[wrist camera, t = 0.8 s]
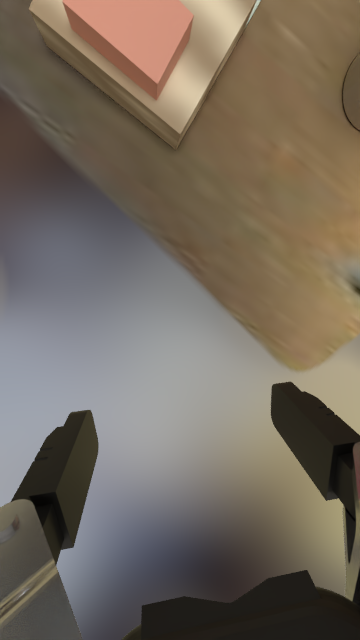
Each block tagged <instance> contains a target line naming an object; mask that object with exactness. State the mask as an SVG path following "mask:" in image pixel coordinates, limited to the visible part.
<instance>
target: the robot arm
mask: <svg viewBox="0 0 360 640" xmlns="http://www.w3.org/2000/svg"><path fill="white" fill-rule="evenodd" d="M343 104H344V108H345V112H346V114H347V117H348V119H349V120H350V122H351V123H352V125H353V126H355V127H356V128H357V129H358V130H360V53H359V54H358V55H357V56H356V58H355V59H354V61H353V62H352V64H351V66H350V68H349V70H348V72H347V75H346V78H345V82H344V88H343ZM271 418H272V421H273V424H274V426H275V428H276V429H277V431H278V432H279V434H280V435H281V437H282V438H283V439H284V441H285V442H286V444H287V445H288V447H289V448H290V449H291V451H292V452H293V454H294V455H295V457H296V458H297V459H298V461H299V462H300V464H301V465H302V467H303V468H304V470H305V471H306V472H307V474H308V475H309V477H310V478H311V479H312V481H313V482H314V484H315V485H316V487H317V488H318V489H319V491H320V492H321V494H322V495H323V497H324V498H325V500H326V501H327V500H332V499H337V498H339V499H340V501H341V502H342V503H343V505H344V506H343V527H344V543H345V544H344V545H345V566H346V583H345V597H344V596H342V595H340V594H337V593H335V592H333V591H330V590H327V589H324V588H320V587H315V585H314V583H313V581H312V579H311V577H310V575H309V573H308V571H307V570H304V571H300V572H296V573H291V574H286V575H281V576H277V577H272V578H268V579H267V580H265V581H264V582H262V583H261V584H259V585H258V586H256V587H255V588H253V589H252V590H250V591H249V592H247V593H246V594H244V595H243V596H241V597H240V598H238V599H237V600H236V601H234V602H232V603H223V602H217V601H210V600H204V599H198V598H191V597H185V596H184V597H180V598H175V599H170V600H166V601H161V602H157V603H152V604H148V605H143V606H142V621H141V624H140V625H139V626H137V627H136V628H135V629H133V630H132V631H131V632H129V633H128V634H127V635H126V636H125V637H124V638H123V639H122V640H360V435H359V434H357V433H356V432H355V431H354V430H353V429H352V428H351V427H350V426H348V425H347V424H346V423H345V422H344V421H343V420H342V419H341V418H339V417H338V416H337V415H335V414H334V412H333V411H332V410H330V409H329V408H327V406H326V405H325V404H324V403H323V402H322V401H320V400H319V399H318V398H317V397H315V396H313V395H311V394H309V393H307V392H301V391H300V390H299V389H298V388H297V387H296V386H295V385H294V384H293V383H292V382H286V383H278V384H273V386H272V395H271ZM97 455H98V438H97V433H96V429H95V425H94V420H93V416H92V412H91V411H90V410H84V411H78V412H71V413H70V414H69V416H68V418H67V420H66V422H65V424H64V426H62V427H57V428H56V429H55V430H54V431H53V432H52V433H51V434H50V435H49V436H48V437H47V438H46V440H45V441H44V443H43V445H42V447H41V448H40V451H39V452H38V454H37V456H36V457H35V461H34V462H33V463H32V465H31V466H30V468H29V470H28V472H27V474H26V476H25V477H24V479H23V481H22V483H21V484H20V487H19V488H18V490H17V492H16V493H15V495H14V497H13V499H12V501H11V502H10V503H8V504H6V505H4V506H2V507H0V640H83V639H82V636H81V633H80V630H79V627H78V625H77V622H76V619H75V616H74V614H73V611H72V608H71V605H70V603H69V600H68V597H67V595H66V592H65V589H64V586H63V583H62V581H61V578H60V575H59V572H58V570H57V567H56V564H57V561H58V557H59V554H60V551H61V550H63V549H67V548H73V547H74V543H75V539H76V535H77V531H78V528H79V524H80V520H81V516H82V513H83V509H84V505H85V501H86V497H87V493H88V489H89V486H90V482H91V478H92V474H93V470H94V467H95V463H96V459H97Z"/></svg>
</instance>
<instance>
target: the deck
mask: <svg viewBox="0 0 360 640" xmlns="http://www.w3.org/2000/svg"><path fill="white" fill-rule="evenodd" d="M62 1H63V0H32V2H31V5H30V7H29V10H30V12H31V14H32V17H33V19H34V21H35V23H36V25H37V27H38V29H39V31H40V33H41V35H42V37H43V39H44V41H45V43H46V45H47V47H48V48H50V49H51V50H52V51H53V52H55V53H56V54H57V55H58V56H60V57H61V58H62V59H63V60H65V61H66V62H67V63H68V64H70V65H71V66H72V67H73V68H75V69H76V70H77V71H78V72H80V73H81V74H82V75H83V76H85V77H86V78H87V79H88V80H90V81H91V82H92V83H93V84H95V85H96V86H97V87H98V88H99V89H101V90H102V91H103V92H104V93H106V94H107V95H108V96H109V97H111V98H112V99H113V100H114V101H116V102H117V103H118V104H119V105H121V106H122V107H123V108H124V109H126V110H127V111H128V112H129V113H131V114H132V115H133V116H134V117H136V118H137V119H138V120H139V121H141V122H142V123H143V124H144V125H146V126H147V127H148V128H149V129H151V130H152V131H153V132H154V133H155V134H157V135H158V136H159V137H160V138H162V139H163V140H164V141H165V142H167V143H168V144H169V145H170V146H172V147H173V148H174V149H175V150H176V149H177V148H178V146H179V144H180V142H181V141H182V139H183V137H184V135H185V134H186V132H187V130H188V128H189V127H190V125H191V123H192V121H193V119H194V118H195V116H196V114H197V112H198V111H199V109H200V107H201V105H202V104H203V102H204V100H205V98H206V97H207V95H208V93H209V91H210V90H211V88H212V86H213V84H214V82H215V81H216V79H217V77H218V75H219V74H220V72H221V70H222V68H223V67H224V65H225V63H226V61H227V60H228V58H229V56H230V54H231V52H232V51H233V49H234V47H235V45H236V44H237V42H238V40H239V38H240V37H241V35H242V33H243V31H244V29H245V27H246V24H247V22H248V20H249V17H250V15H251V13H252V10H253V8H254V6H255V3H256V1H257V0H179V1H180V2H181V3H182V4H183V5H184V6H185V7H186V8H187V9H188V10H189V11H190V12H191V13H192V14H193V15H194V18H193V23H192V28H191V33H190V39H189V41H188V43H187V45H186V47H185V49H184V51H183V53H182V54H181V56H180V58H179V60H178V62H177V64H176V66H175V68H174V69H173V71H172V73H171V75H170V77H169V79H168V81H167V83H166V84H165V86H164V88H163V90H162V92H161V94H160V96H159V98H158V99H157V101H156V100H155V99H154V98H153V97H151V96H150V95H149V94H148V93H147V92H146V91H144V90H143V89H142V88H141V87H140V86H138V85H137V84H136V83H135V82H134V81H133V80H131V79H130V78H129V77H128V76H127V75H125V74H124V73H123V72H122V71H121V70H120V69H118V68H117V67H116V66H115V65H114V64H112V63H111V62H110V61H109V60H108V59H106V58H105V57H104V56H103V55H102V54H101V53H99V52H98V51H97V50H96V49H95V48H93V47H92V46H91V45H90V44H89V43H88V42H86V41H85V40H84V39H83V38H82V37H80V36H79V35H78V34H77V33H76V32H75V31H73V30H72V28H71V25H70V23H69V20H68V17H67V14H66V11H65V8H64V5H63V2H62Z"/></svg>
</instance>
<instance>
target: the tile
mask: <svg viewBox="0 0 360 640" xmlns="http://www.w3.org/2000/svg"><path fill="white" fill-rule="evenodd" d="M62 2H63V5H64V8H65V11H66V14H67V17H68V20H69V23H70V25H71V28H72V30H73V31H75V32H76V33H77V34H78V35H79V36H80V37H82V38H83V39H84V40H85V41H86V42H88V43H89V44H90V45H91V46H92V47H93V48H95V49H96V50H97V51H98V52H99V53H101V54H102V55H103V56H104V57H105V58H106V59H108V60H109V61H110V62H111V63H112V64H114V65H115V66H116V67H117V68H118V69H120V70H121V71H122V72H123V73H124V74H125V75H127V76H128V77H129V78H130V79H131V80H133V81H134V82H135V83H136V84H137V85H138V86H140V87H141V88H142V89H143V90H144V91H146V92H147V93H148V94H149V95H150V96H151V97H153V98H154V99H155V100H156V101H157V99H158V98H159V96H160V94H161V92H162V90H163V88H164V86H165V84H166V83H167V81H168V79H169V77H170V75H171V73H172V71H173V69H174V68H175V66H176V64H177V62H178V60H179V58H180V56H181V54H182V53H183V51H184V49H185V47H186V45H187V43H188V41H189V39H190V33H191V28H192V23H193V18H194V15H193V14H192V13H191V12H190V11H189V10H188V9H187V8H186V7H185V6H184V5H183V4H182V3H181V2H180V1H179V0H63V1H62Z"/></svg>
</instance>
